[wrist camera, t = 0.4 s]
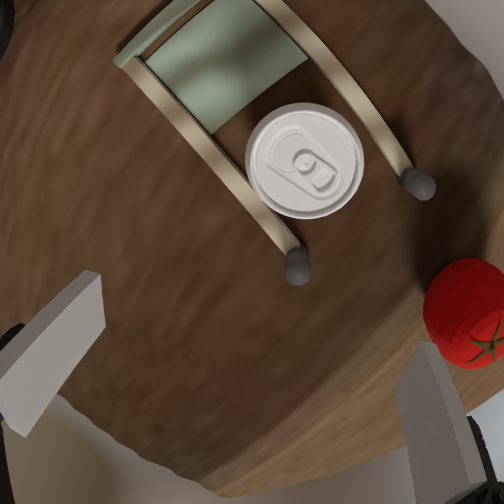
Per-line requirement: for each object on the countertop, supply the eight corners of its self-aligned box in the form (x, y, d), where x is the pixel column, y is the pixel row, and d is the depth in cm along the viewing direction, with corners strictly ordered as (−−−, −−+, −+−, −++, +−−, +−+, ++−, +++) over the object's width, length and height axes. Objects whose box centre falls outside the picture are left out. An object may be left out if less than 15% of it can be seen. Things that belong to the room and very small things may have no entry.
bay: (118, 64, 28) (94, 60, 24) (237, -39, 22) (228, -59, 18) (295, 266, 36) (295, 289, 31) (420, 179, 30) (439, 191, 25)
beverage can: (295, 89, 28) (297, 76, 17) (357, 143, 29) (393, 162, 19) (243, 150, 31) (216, 173, 20) (305, 200, 33) (311, 248, 22)
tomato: (407, 257, 34) (448, 323, 22) (488, 231, 31) (546, 283, 20) (415, 336, 38) (442, 406, 27) (486, 311, 35) (526, 370, 24)
